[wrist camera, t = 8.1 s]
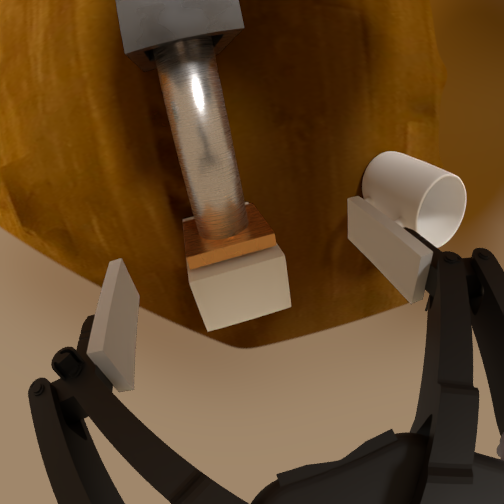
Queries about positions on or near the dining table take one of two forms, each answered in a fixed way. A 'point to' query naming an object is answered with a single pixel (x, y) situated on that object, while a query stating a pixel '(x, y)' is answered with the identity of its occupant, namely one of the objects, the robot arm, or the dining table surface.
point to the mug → (415, 195)
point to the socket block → (240, 287)
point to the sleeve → (175, 25)
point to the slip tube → (207, 157)
